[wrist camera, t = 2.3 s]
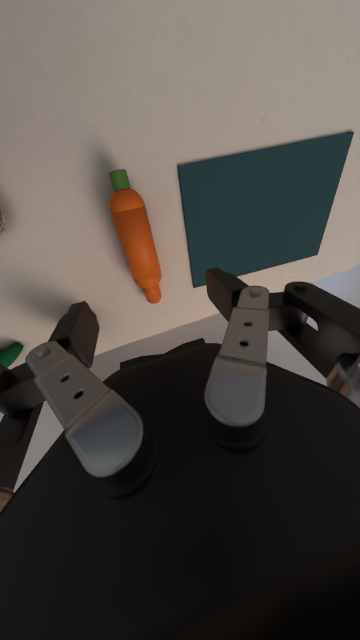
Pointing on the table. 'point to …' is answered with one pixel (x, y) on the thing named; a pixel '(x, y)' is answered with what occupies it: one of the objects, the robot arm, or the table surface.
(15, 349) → the gaming controller
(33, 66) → the table surface
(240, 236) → the cloth
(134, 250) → the carrot
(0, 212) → the seashell
